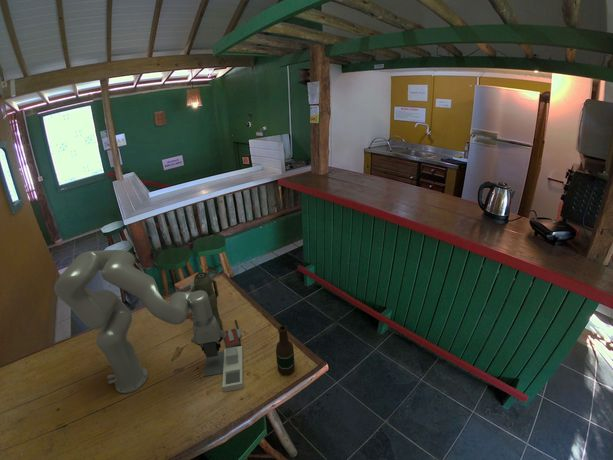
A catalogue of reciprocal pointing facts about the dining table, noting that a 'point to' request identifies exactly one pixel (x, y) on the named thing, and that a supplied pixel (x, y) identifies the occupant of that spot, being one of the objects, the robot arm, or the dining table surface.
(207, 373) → the mat
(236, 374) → the power strip
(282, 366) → the beer bottle
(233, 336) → the walkie-talkie
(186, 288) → the cracker box
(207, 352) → the block
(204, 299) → the robot arm
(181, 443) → the dining table surface
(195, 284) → the thermos
